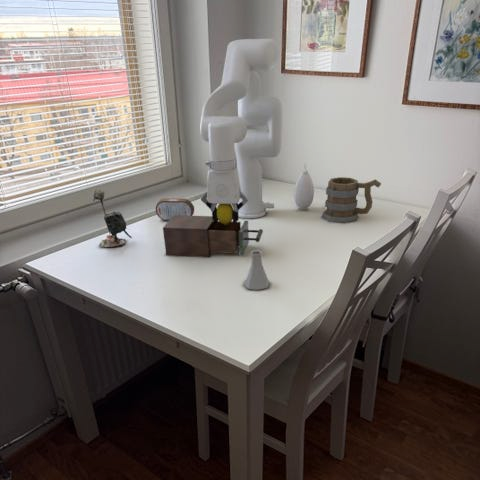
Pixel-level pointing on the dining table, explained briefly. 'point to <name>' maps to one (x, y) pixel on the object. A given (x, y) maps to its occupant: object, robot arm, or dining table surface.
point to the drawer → (230, 237)
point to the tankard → (346, 199)
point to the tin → (173, 208)
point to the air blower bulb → (304, 190)
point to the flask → (256, 273)
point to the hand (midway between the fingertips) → (225, 221)
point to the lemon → (225, 213)
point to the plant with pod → (112, 224)
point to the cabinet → (187, 235)
